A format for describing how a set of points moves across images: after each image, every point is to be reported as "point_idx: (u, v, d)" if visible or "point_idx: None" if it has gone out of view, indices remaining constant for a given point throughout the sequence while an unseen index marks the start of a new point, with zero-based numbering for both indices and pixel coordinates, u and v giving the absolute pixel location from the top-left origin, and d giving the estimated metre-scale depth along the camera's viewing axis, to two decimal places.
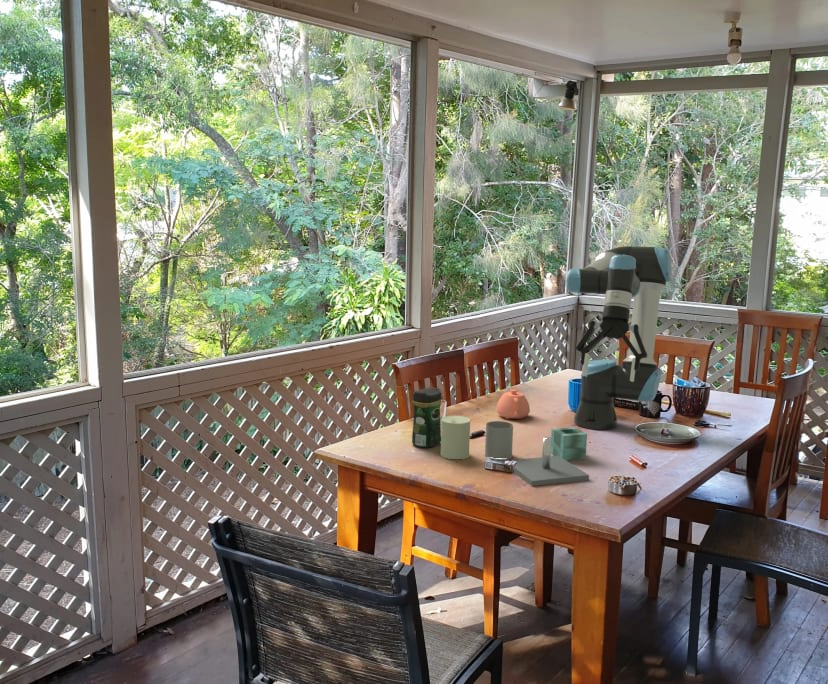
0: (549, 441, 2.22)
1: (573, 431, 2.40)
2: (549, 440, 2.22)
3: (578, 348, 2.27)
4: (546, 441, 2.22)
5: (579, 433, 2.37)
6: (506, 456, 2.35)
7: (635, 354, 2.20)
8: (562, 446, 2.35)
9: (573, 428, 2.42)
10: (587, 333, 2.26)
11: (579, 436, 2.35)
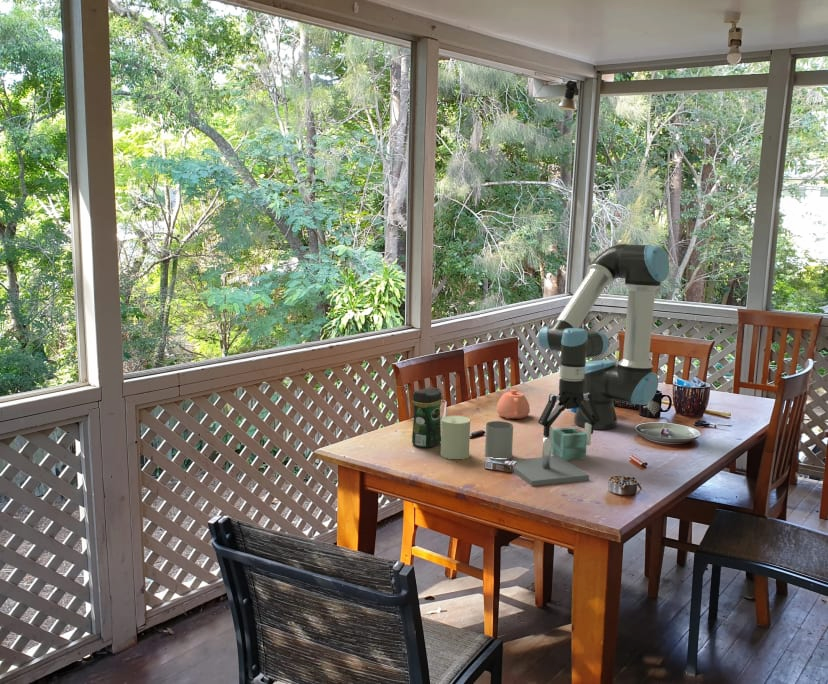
0: (549, 441, 2.22)
1: (573, 431, 2.40)
2: (549, 440, 2.22)
3: (544, 424, 2.34)
4: (546, 441, 2.22)
5: (579, 433, 2.37)
6: (506, 456, 2.35)
7: (591, 421, 2.39)
8: (562, 446, 2.35)
9: (573, 428, 2.42)
10: (550, 408, 2.34)
11: (579, 436, 2.35)
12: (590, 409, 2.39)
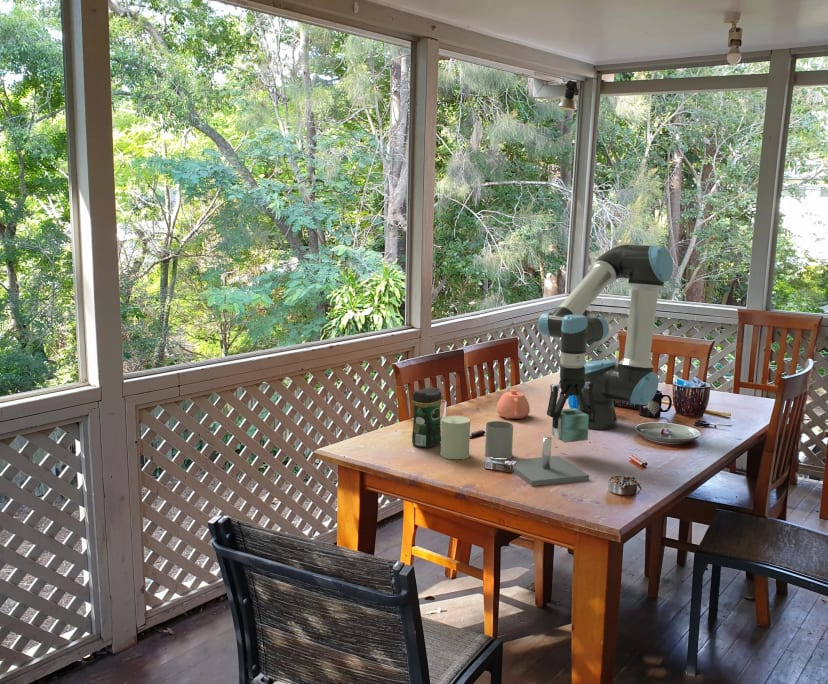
0: (549, 441, 2.22)
1: (575, 412, 2.40)
2: (549, 440, 2.22)
3: (552, 415, 2.34)
4: (546, 441, 2.22)
5: (581, 414, 2.36)
6: (506, 456, 2.35)
7: (586, 412, 2.38)
8: (564, 427, 2.34)
9: (575, 409, 2.41)
10: (555, 399, 2.34)
11: (581, 417, 2.35)
12: (587, 398, 2.39)
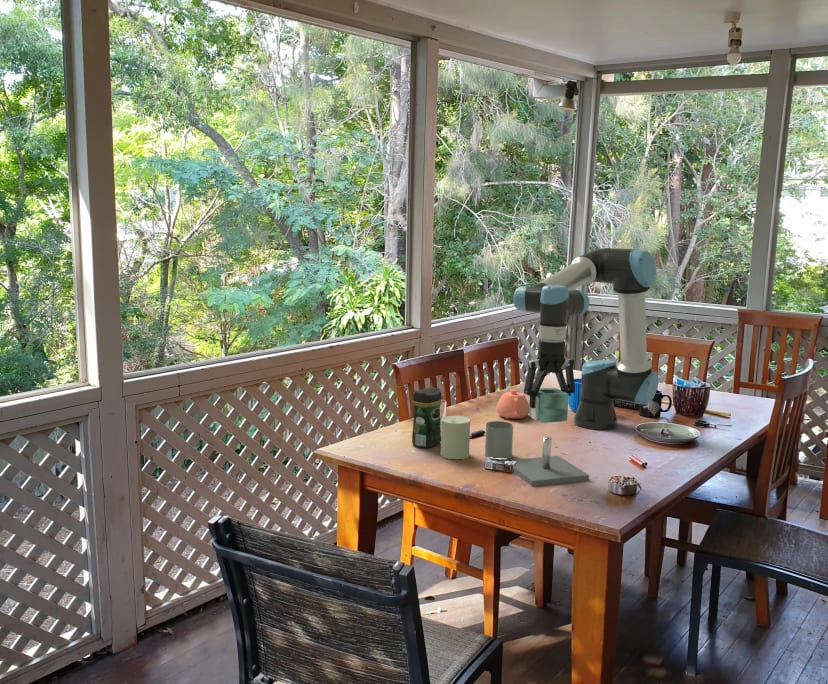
0: (549, 441, 2.22)
1: (554, 391, 2.22)
2: (549, 440, 2.22)
3: (529, 393, 2.17)
4: (546, 441, 2.22)
5: (560, 393, 2.19)
6: (506, 456, 2.35)
7: (566, 391, 2.20)
8: (541, 407, 2.16)
9: (554, 389, 2.23)
10: (532, 376, 2.16)
11: (560, 396, 2.17)
12: (568, 377, 2.21)
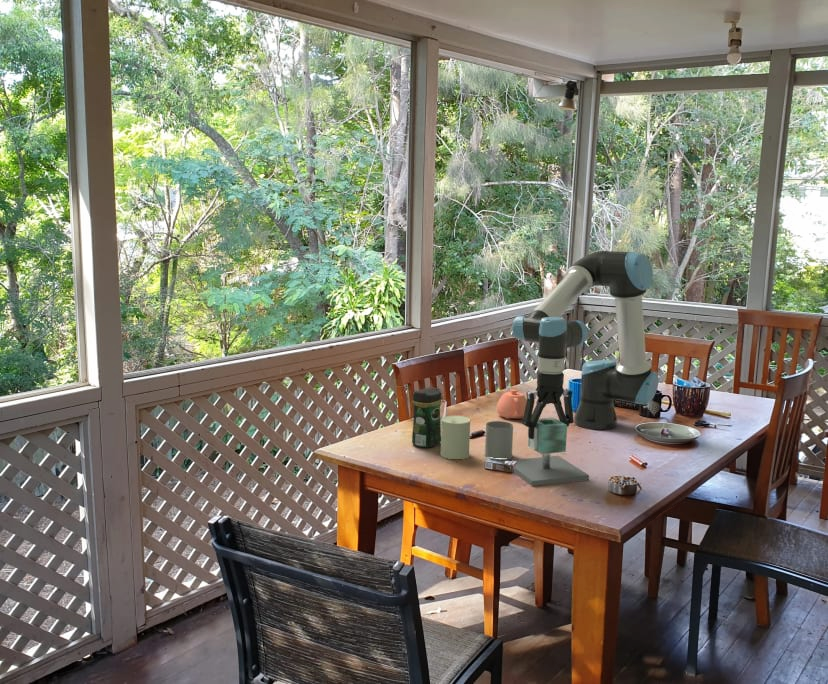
0: None
1: (552, 422, 2.24)
2: None
3: (528, 425, 2.18)
4: None
5: (559, 423, 2.20)
6: (506, 456, 2.35)
7: (564, 422, 2.22)
8: (540, 438, 2.18)
9: (553, 419, 2.25)
10: (531, 407, 2.18)
11: (558, 427, 2.19)
12: (566, 407, 2.23)
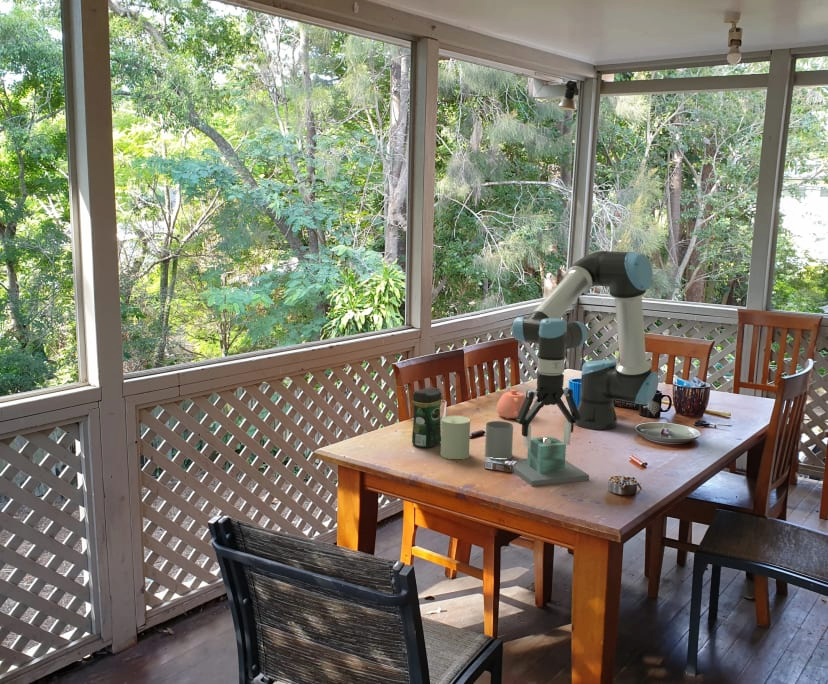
0: (549, 441, 2.22)
1: (551, 441, 2.25)
2: (549, 440, 2.22)
3: (522, 422, 2.18)
4: (546, 441, 2.22)
5: (557, 443, 2.21)
6: (506, 456, 2.35)
7: (571, 419, 2.23)
8: (539, 457, 2.19)
9: None
10: (528, 405, 2.17)
11: (557, 446, 2.20)
12: (570, 406, 2.23)
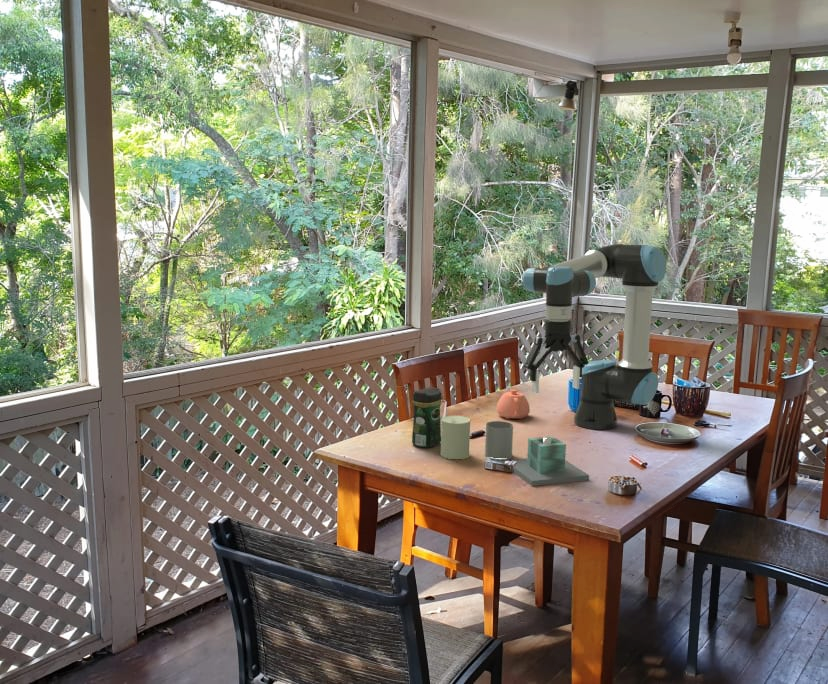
0: (549, 441, 2.22)
1: (551, 441, 2.25)
2: (549, 440, 2.22)
3: (530, 367, 2.23)
4: (546, 441, 2.22)
5: (557, 443, 2.21)
6: (506, 456, 2.35)
7: (579, 364, 2.28)
8: (539, 457, 2.19)
9: None
10: (536, 351, 2.23)
11: (557, 446, 2.20)
12: (578, 351, 2.29)
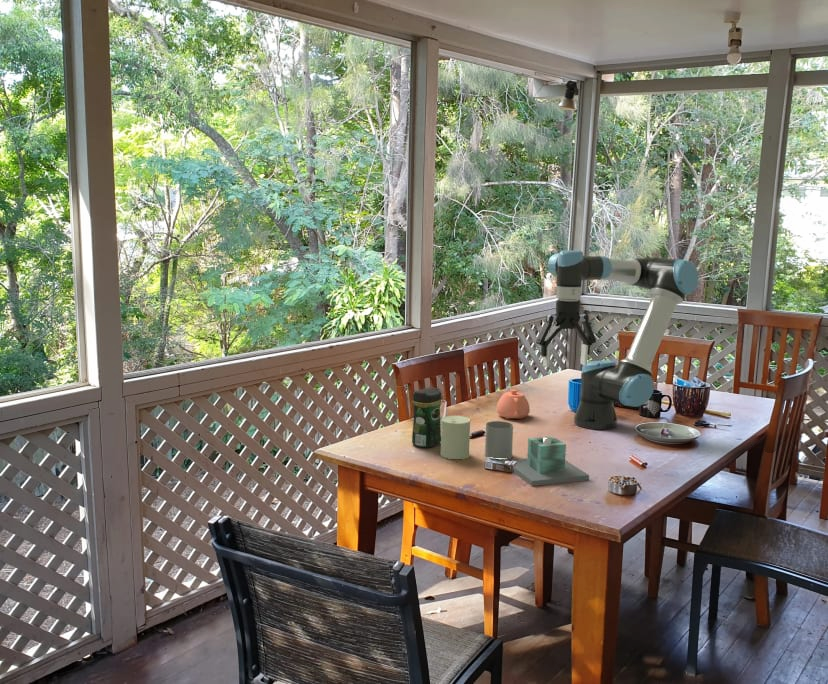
0: (549, 441, 2.22)
1: (551, 441, 2.25)
2: (549, 440, 2.22)
3: (541, 343, 2.40)
4: (546, 441, 2.22)
5: (557, 443, 2.21)
6: (506, 456, 2.35)
7: (587, 341, 2.45)
8: (539, 457, 2.19)
9: None
10: (548, 328, 2.40)
11: (557, 446, 2.20)
12: (586, 330, 2.46)
